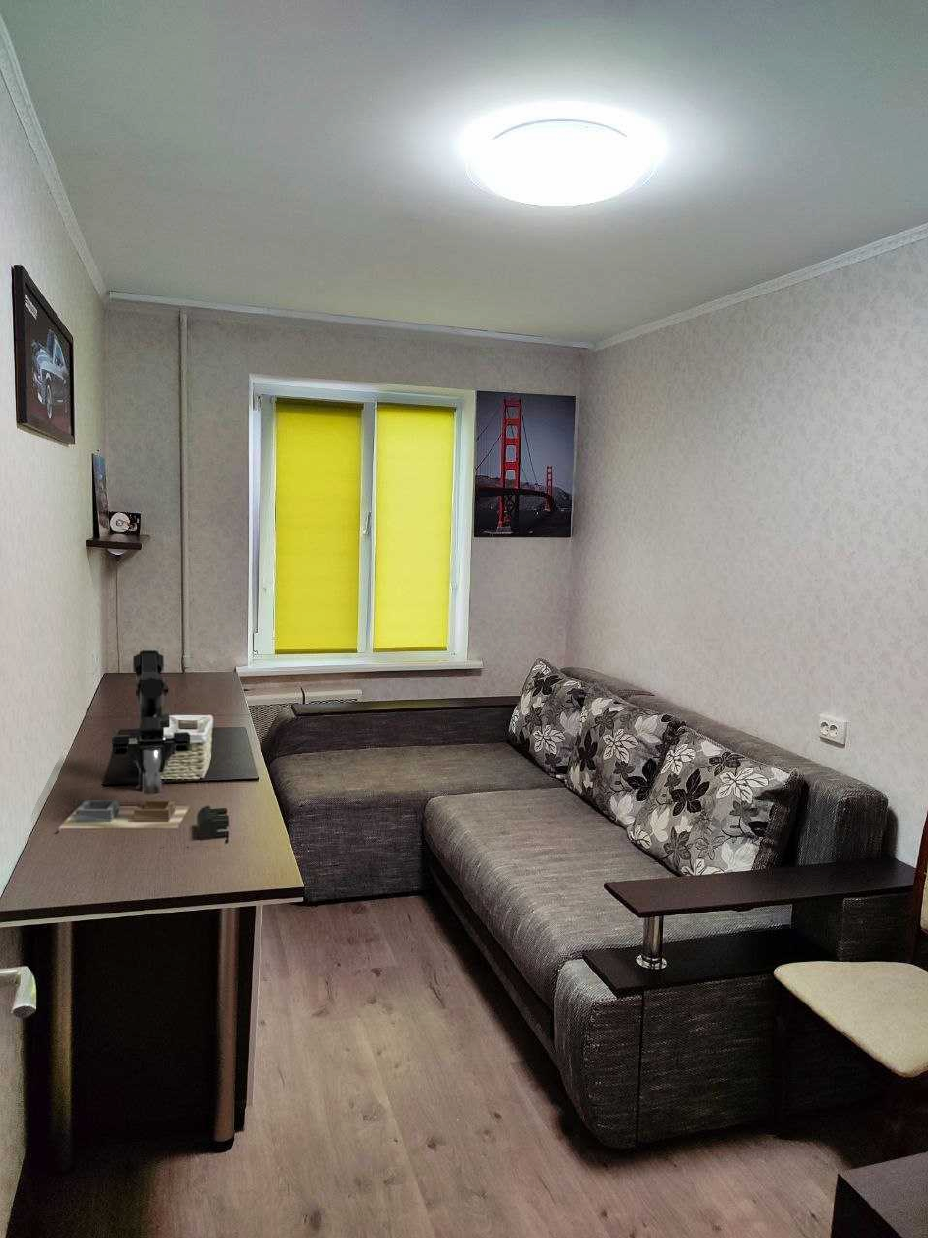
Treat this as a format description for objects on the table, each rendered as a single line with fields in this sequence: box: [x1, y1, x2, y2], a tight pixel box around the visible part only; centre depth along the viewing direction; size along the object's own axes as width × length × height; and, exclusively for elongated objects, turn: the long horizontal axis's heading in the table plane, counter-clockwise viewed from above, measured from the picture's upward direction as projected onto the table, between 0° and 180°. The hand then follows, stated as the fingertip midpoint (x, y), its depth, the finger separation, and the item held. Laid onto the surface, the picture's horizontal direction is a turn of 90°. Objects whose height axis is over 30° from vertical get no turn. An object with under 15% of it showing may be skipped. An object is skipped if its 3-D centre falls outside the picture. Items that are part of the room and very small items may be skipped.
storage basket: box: [161, 714, 214, 781], centre depth 272 cm, size 24×16×15 cm
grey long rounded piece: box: [142, 747, 162, 795], centre depth 225 cm, size 4×4×11 cm
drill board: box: [58, 799, 190, 833], centre depth 226 cm, size 16×28×4 cm, turn 97°
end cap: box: [196, 805, 230, 844], centre depth 218 cm, size 10×7×7 cm
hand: (152, 773), depth 224 cm, fingers closed on grey long rounded piece, 4 cm apart
